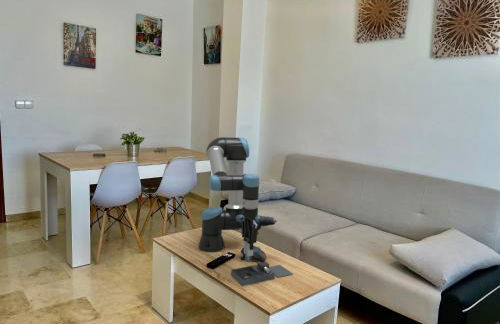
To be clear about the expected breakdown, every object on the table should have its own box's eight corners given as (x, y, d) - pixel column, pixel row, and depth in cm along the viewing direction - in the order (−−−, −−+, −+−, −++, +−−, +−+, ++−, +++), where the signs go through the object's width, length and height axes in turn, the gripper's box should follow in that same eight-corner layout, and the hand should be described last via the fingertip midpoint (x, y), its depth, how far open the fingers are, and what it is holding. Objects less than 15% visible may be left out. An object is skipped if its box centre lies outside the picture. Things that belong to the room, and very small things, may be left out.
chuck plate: (230, 275, 190) (231, 264, 189) (262, 269, 199) (262, 258, 198) (242, 286, 180) (242, 274, 179) (274, 278, 189) (275, 267, 188)
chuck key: (240, 260, 186) (241, 237, 185) (251, 258, 189) (252, 235, 188) (244, 263, 183) (245, 239, 182) (255, 261, 186) (256, 237, 184)
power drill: (274, 264, 205) (276, 219, 201) (232, 259, 209) (233, 215, 206) (276, 258, 214) (278, 214, 210) (236, 253, 218) (237, 210, 214)
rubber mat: (265, 268, 200) (265, 267, 200) (279, 265, 204) (279, 264, 204) (278, 277, 190) (278, 277, 189) (292, 274, 194) (293, 273, 194)
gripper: (235, 203, 187) (234, 249, 191) (251, 212, 174) (249, 261, 177) (249, 202, 191) (247, 247, 194) (265, 210, 177) (263, 259, 181)
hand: (248, 254), depth 186 cm, fingers closed on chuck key, 3 cm apart
